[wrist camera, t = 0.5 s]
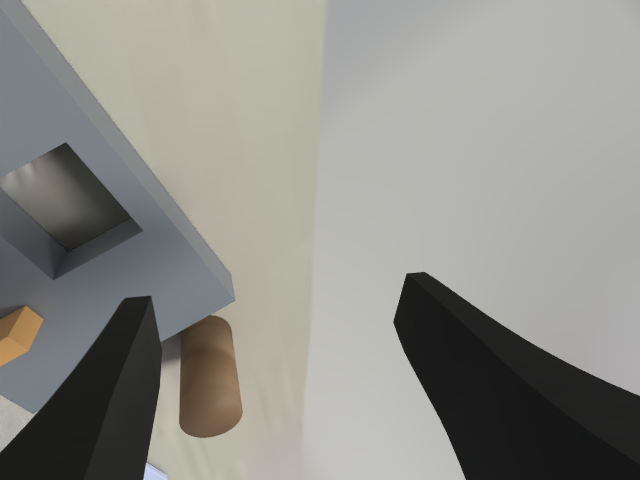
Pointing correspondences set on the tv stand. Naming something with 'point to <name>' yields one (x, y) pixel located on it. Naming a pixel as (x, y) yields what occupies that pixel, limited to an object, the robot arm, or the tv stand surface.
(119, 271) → the housing
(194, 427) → the peg
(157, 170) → the tv stand surface
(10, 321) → the cap
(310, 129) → the tv stand surface
